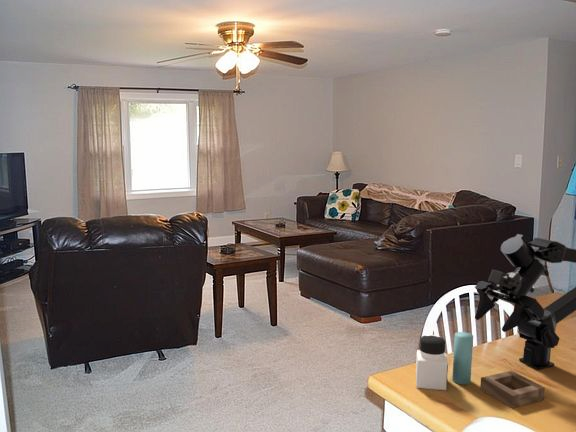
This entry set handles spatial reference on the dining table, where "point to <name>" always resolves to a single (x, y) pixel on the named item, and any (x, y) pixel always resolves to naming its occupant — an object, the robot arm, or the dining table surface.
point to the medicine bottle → (431, 363)
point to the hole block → (513, 398)
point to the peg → (462, 358)
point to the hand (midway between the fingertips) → (489, 324)
